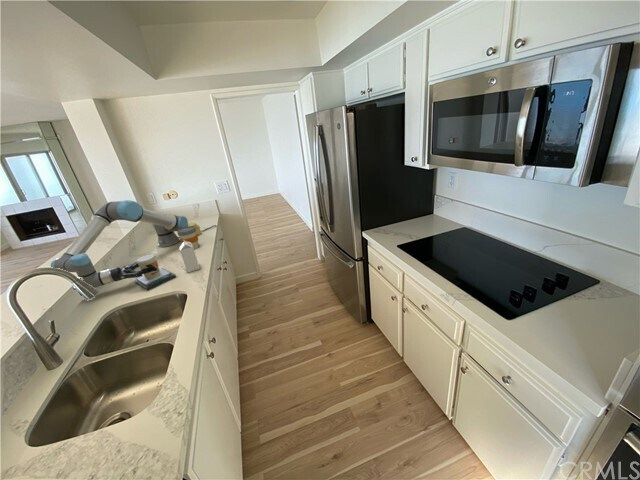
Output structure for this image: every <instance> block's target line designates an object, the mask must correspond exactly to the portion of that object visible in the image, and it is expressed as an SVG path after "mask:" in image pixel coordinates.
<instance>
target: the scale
mask: <svg viewBox="0 0 640 480" xmlns="http://www.w3.org/2000/svg"><path fill="white" fill-rule="evenodd" d="M159 270H160V275H159V276H157V277H155V278H152V279H146V278H145V276H144V274H142V276H141V277H135V279H134V283H135V284H136V285H138V286H139V287H141V288H142V289H144V290H146V291H147V292H149V291H151V290H152V289H155V288H157V287H159V286H161V285H163V284H165V283H167V282H169V281H171V280H173V279H175V278H177V276H176V274H175V273H173V272H171V271H169V270H167V269H165V268H163V267H159Z"/></svg>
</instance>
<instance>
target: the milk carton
mask: <svg viewBox="0 0 640 480" xmlns="http://www.w3.org/2000/svg"><path fill="white" fill-rule="evenodd" d="M179 253H180V255H181V259H182V262H183V264H184V266H185V269H186V273H191V272H195V271H197V270H200V267H201V266H200V263H199V261H198V257H197V254H196V252H195V249H194V248H193V245H192V244H191V243H190V242H186V241H184V242H183V243H182V242H181V245H180V246H179Z"/></svg>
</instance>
